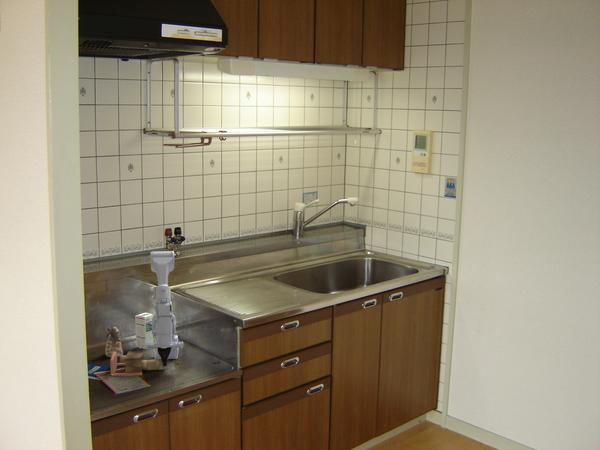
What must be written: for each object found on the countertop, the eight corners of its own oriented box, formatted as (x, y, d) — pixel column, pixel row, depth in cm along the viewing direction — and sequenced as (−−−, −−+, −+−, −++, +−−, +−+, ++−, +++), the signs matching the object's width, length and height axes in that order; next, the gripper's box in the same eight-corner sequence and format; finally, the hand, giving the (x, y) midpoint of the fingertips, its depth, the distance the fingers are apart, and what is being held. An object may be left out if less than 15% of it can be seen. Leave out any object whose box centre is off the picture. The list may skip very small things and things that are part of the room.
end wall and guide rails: (145, 364, 284) (144, 349, 283) (142, 375, 272) (141, 360, 271) (114, 365, 283) (114, 350, 282) (110, 376, 271) (109, 361, 270)
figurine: (120, 357, 292) (119, 329, 290) (103, 357, 292) (102, 329, 290) (125, 351, 299) (124, 324, 297) (108, 351, 299) (107, 324, 297)
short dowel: (141, 361, 288) (141, 354, 288) (140, 364, 285) (140, 356, 284) (121, 362, 287) (121, 354, 287) (120, 364, 284) (120, 356, 283)
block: (143, 365, 282) (143, 351, 282) (141, 373, 274) (140, 358, 273) (128, 365, 282) (127, 351, 281) (125, 373, 273) (125, 359, 272)
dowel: (161, 365, 281) (161, 357, 279) (161, 371, 277) (160, 363, 276) (132, 366, 280) (131, 358, 278) (131, 372, 276) (130, 364, 274)
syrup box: (145, 349, 301) (145, 317, 299) (135, 347, 305) (134, 314, 302) (155, 346, 306) (154, 313, 304) (145, 343, 309) (144, 311, 307)
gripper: (144, 336, 272) (145, 369, 274) (182, 335, 274) (183, 368, 276) (146, 330, 279) (147, 363, 281) (183, 329, 281) (183, 362, 283)
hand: (164, 365), depth 279 cm, fingers closed
